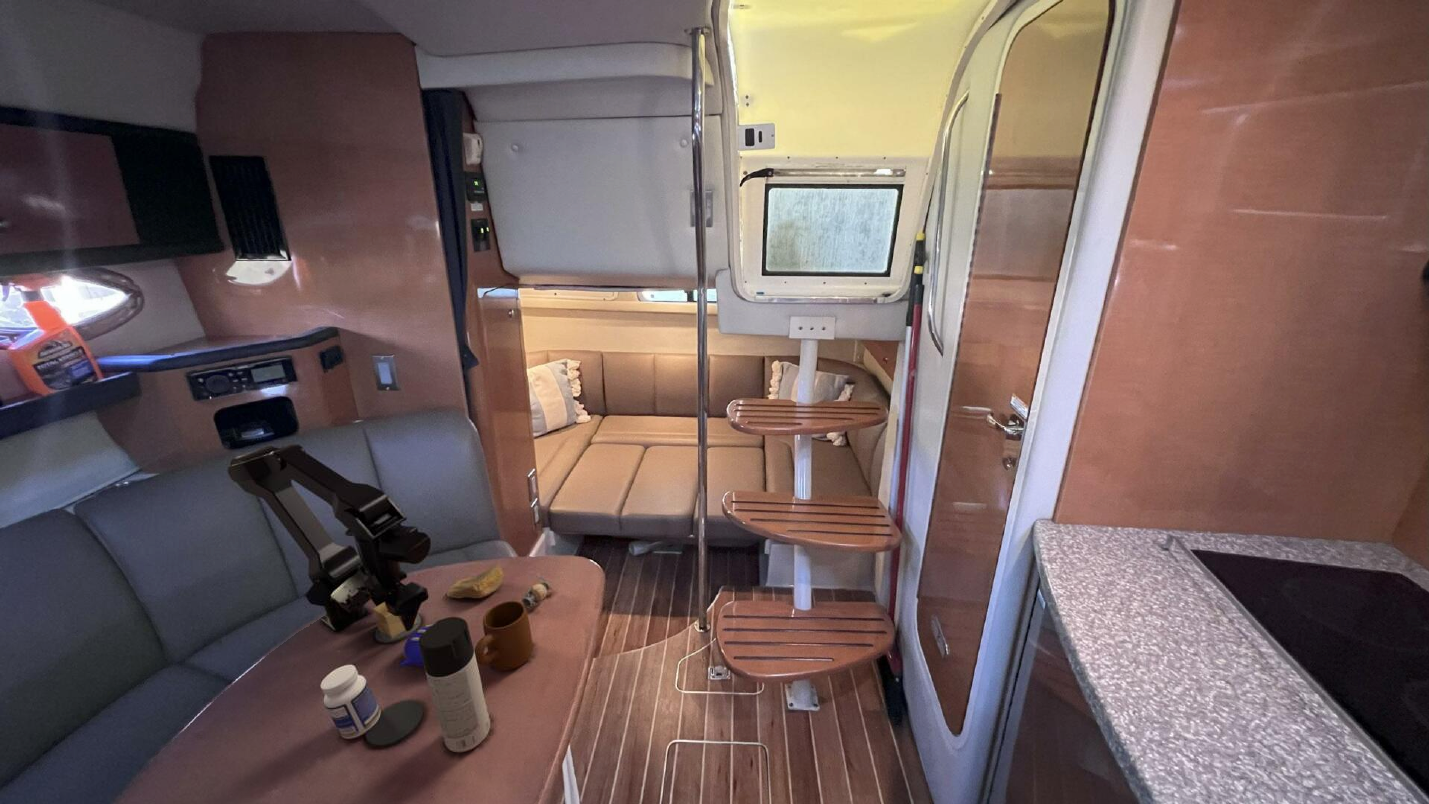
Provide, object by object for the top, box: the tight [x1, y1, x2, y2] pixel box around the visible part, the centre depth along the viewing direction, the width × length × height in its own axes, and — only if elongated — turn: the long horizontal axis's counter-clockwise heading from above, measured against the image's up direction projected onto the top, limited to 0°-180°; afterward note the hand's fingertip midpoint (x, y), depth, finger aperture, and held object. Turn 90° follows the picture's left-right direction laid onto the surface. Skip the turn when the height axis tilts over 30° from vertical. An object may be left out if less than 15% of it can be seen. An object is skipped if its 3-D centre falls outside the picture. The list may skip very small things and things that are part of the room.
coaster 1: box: [374, 613, 422, 644], centre depth 106 cm, size 8×8×1 cm
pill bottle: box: [320, 664, 382, 740], centre depth 83 cm, size 6×6×10 cm
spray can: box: [419, 616, 491, 753], centre depth 80 cm, size 7×7×20 cm
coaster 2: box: [365, 700, 424, 748], centre depth 85 cm, size 8×8×1 cm
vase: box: [521, 572, 555, 609], centre depth 111 cm, size 5×5×6 cm
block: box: [372, 602, 417, 638], centre depth 105 cm, size 5×5×5 cm
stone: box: [447, 564, 505, 599], centre depth 116 cm, size 9×5×10 cm
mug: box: [474, 600, 534, 671], centre depth 95 cm, size 12×8×9 cm, turn 165°
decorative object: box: [398, 624, 433, 667], centre depth 97 cm, size 10×6×10 cm
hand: (397, 621), depth 106 cm, fingers open, 9 cm apart
